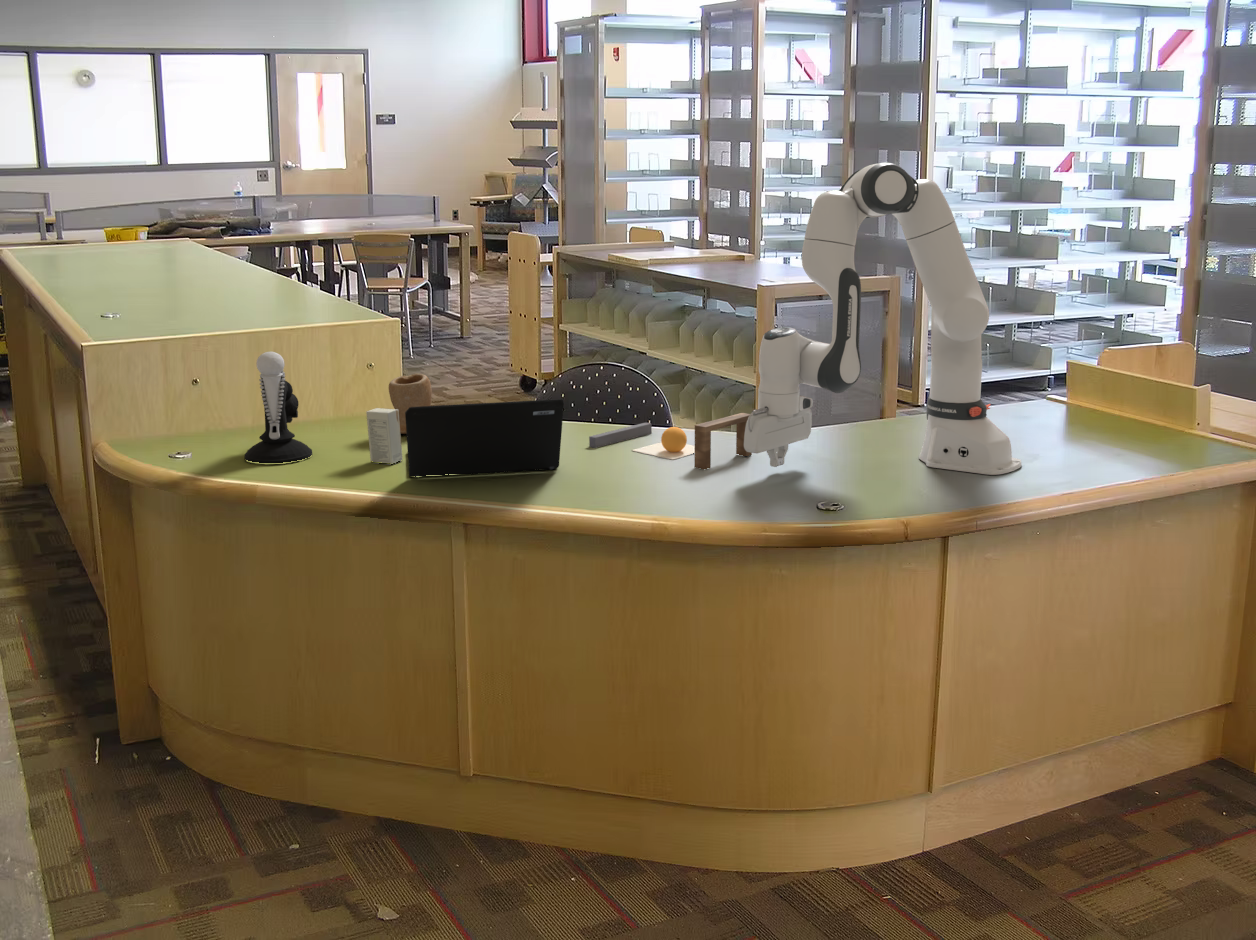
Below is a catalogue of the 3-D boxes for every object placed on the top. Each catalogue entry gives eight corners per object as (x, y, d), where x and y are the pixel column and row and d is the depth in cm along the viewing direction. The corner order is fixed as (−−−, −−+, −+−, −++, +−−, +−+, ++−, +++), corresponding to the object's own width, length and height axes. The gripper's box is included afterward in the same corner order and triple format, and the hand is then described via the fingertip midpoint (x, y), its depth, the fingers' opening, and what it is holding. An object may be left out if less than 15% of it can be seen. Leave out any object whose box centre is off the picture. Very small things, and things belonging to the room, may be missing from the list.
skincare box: (403, 461, 290) (400, 409, 287) (392, 465, 286) (389, 412, 283) (380, 458, 293) (377, 406, 289) (368, 462, 289) (365, 410, 286)
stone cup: (384, 439, 312) (380, 379, 308) (396, 428, 323) (393, 370, 319) (444, 439, 310) (441, 379, 307) (454, 428, 322) (452, 370, 318)
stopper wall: (651, 433, 315) (651, 423, 314) (595, 447, 300) (595, 437, 300) (645, 432, 316) (645, 422, 315) (589, 446, 302) (589, 436, 301)
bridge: (751, 455, 292) (752, 414, 290) (704, 469, 280) (705, 427, 278) (741, 453, 294) (742, 412, 292) (694, 467, 282) (694, 425, 280)
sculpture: (239, 466, 287) (229, 357, 280) (257, 442, 309) (249, 341, 303) (307, 464, 288) (299, 355, 282) (321, 440, 311) (313, 339, 304)
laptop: (547, 447, 304) (545, 367, 299) (567, 489, 268) (565, 399, 263) (407, 454, 298) (403, 373, 293) (408, 497, 262) (403, 406, 257)
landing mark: (709, 449, 298) (709, 448, 298) (673, 459, 289) (673, 459, 289) (667, 441, 306) (667, 440, 306) (631, 450, 297) (631, 450, 297)
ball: (667, 435, 300) (681, 455, 298) (651, 439, 295) (665, 459, 294) (682, 420, 296) (696, 440, 295) (666, 423, 292) (680, 443, 290)
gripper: (761, 413, 264) (759, 477, 267) (817, 398, 278) (815, 459, 282) (737, 409, 268) (736, 472, 271) (793, 394, 282) (792, 454, 286)
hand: (777, 465), depth 277 cm, fingers closed
